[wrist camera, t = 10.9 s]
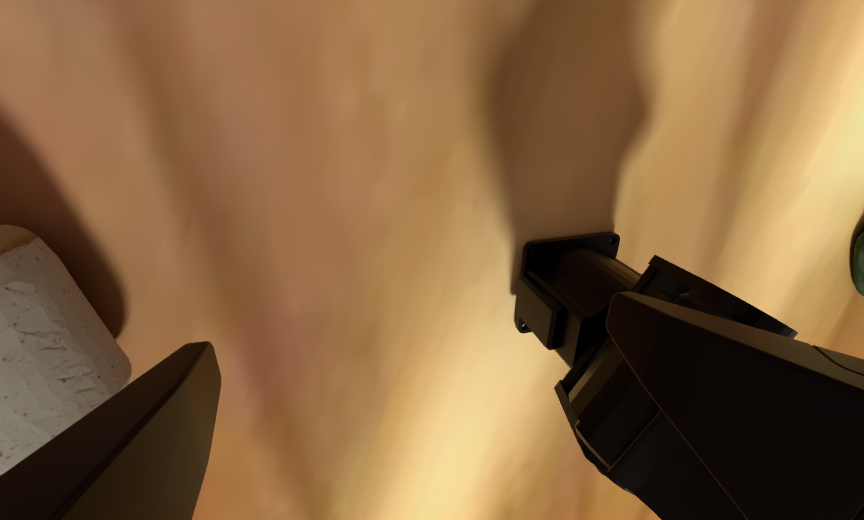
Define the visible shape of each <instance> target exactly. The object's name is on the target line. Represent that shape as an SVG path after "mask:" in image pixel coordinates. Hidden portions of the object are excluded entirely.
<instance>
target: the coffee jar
mask: <svg viewBox="0 0 864 520" xmlns="http://www.w3.org/2000/svg"><path fill="white" fill-rule="evenodd" d="M853 277H854V283H855V287H856V289H857V291H858V292H859V293H860V294H861V295H862V296H864V232H863V233H862V234H861V235H860V236H859V238H858V239H857V242H856V244H855V250H854V261H853Z"/></svg>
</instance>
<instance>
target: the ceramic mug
mask: <svg viewBox="0 0 864 520" xmlns="http://www.w3.org/2000/svg"><path fill="white" fill-rule="evenodd" d="M131 372H132V369H131V363H130V361H129V359H128V357H127V356H126V354H125V353H124V352H123V350H122V349H121V348H120V346H119V345H118V344H117V342H116V341H115V339H114V338H113V336H112V335H111V333H110V332H109V330H108V329H107V327H106V326H105V325H104V323H103V322H102V320H101V319H100V317H99V316H98V315H97V313H96V312H95V310H94V309H93V307H92V306H91V304H90V303H89V302H88V300H87V299H86V297H85V296H84V295H83V293H82V292H81V290H80V289H79V288H78V286H77V285H76V283H75V281H74V280H73V278H72V277H71V275H70V274H69V272H68V270H67V269H66V267H65V266H64V264H63V263H62V262H61V260H60V259H59V257H58V256H57V255H56V254H55V253H54V252H53V251H52V250H51V249H50V248H49V247H48V246H47V245H46V244H45V243H44V242H43V241H42V240H41V239H40V238H39V237H38V236H37V235H35V234H34V233H33V232H31V231H30V230H27V229H25V228H22V227H19V226H13V225H7V224H5V225H0V476H1V475H2V474H3V473H5V472H6V471H8V470H9V469H10V468H12V467H13V466H15V465H16V464H17V463H19V462H20V461H22V460H23V459H25V458H26V457H27V456H29V455H30V454H32V453H33V452H34V451H36V450H37V449H39V448H40V447H41V446H43V445H44V444H46V443H47V442H48V441H50V440H51V439H53V438H54V437H56V436H57V435H58V434H60V433H61V432H63V431H64V430H65V429H67V428H68V427H70V426H71V425H72V424H74V423H75V422H77V421H78V420H79V419H81V418H82V417H84V416H85V415H87V414H88V413H89V412H91V411H92V410H94V409H95V408H96V407H98V406H99V405H101V404H102V403H103V402H105V401H106V400H108V399H109V398H110V397H112V396H113V395H115V394H116V393H118V392H119V391H120V390H122V389H123V388H125V387H126V386H127V384H128V382H129V380H130V377H131Z"/></svg>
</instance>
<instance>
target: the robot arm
mask: <svg viewBox="0 0 864 520" xmlns="http://www.w3.org/2000/svg"><path fill="white" fill-rule="evenodd" d="M611 239H612V241H611V242H610V240H611ZM619 242H620V237H619V235H617V234H616V233H614V232H604V233H595V234H587V235H578V236H569V237H561V238H552V239H544V240H535V241H530V242H528V243H527V244H526V245H525V246H524V250H523V259H522V268H521V275H520V277H519V279H518V287H517V297H516V306H515V311H516V313H517V315H516V324H515V325H516V328H517V329H518V331H519V332H520V333H528V332H533V333H534V334H535V335H536V337H537V338H538V339H539V340H540V341H541V343H542V344H543V345H544V346H545V347H546V348H547V349H548V350H555V351H556V352H557V353H558V354H559V356H560V357H561V358H562V359H563V360H564V361H565V363H566V364H567V365H568V366H569V367H570V368H571V369H570V370H569V372H568V373H567V374H566V376H565V377H564V378H563V380H559V382H558V383H557V384H556V386H555V387H554V389H555V391H556V394H557V396H558V398H559V401H560V403H561V405H562V407H563V410H564V412H565V414H566V416H567V419H568V421H569V423H570V426H571V428H572V430H573V432H574V435H575V437H576V439H577V441H578V443H579V445H580V447H581V449H582V451H583V454H584V456H585V457H586V458H587V459H588V460H589V461H590V462H591V463H593V464H594V465H595V466H596V468H597V470H598V471H599V472H600V473H601V474H603V475H605V476H606V477H608V478H609V479H610V480H611V481H612V482H614V483H615V484H616V485H618V486H619V487H621V488H622V489H624V490H625V491H627V492H629V493H631V494H633V495H636V496H637V497H638V498H639V499H640V500H641V501H642V502H643V503H645V504H646V505H647V506H648V507H649V508H650V509H651V510H652V511H653V512H654V513H655V514H656V515H657V516H658V517H659V518H660V519H661V520H864V360H863V359H860V358H856V357H853V356H849V355H846V354H842V353H839V352H835V351H832V350H829V349H825V348H822V347H818V346H815V345H813V346H811V345H810V344H808V343H805V342H801V341H798V340H794V339H793V338H794V337H795V336H796V335H797V334H798V332H796V331H795V330H793V329H792V328H790V327H788V326H787V325H785V324H783V323H782V322H780V321H778V320H777V319H775V318H773V317H771V316H770V315H768V314H766V313H764V312H763V311H761V310H759V309H757V308H756V307H754V306H752V305H750V304H749V303H747V302H745V301H743V300H741V299H740V298H738V297H736V296H734V295H732V294H730V293H729V292H727V291H725V290H723V289H721V288H719V287H717V286H716V285H714V284H712V283H710V282H708V281H706V280H704V279H702V278H700V277H698V276H696V275H694V274H692V273H690V272H688V271H686V270H684V269H682V268H680V267H678V266H676V265H674V264H672V263H670V262H668V261H666V260H664V259H662V258H660V257H658V256H656V255H654V256H653V258H652V259H651V260H650V262H649V263H648V264H650V265H649V266H648V268H647V269H646V270H645V272H644V273H643V274H640V273H638V272H637V271H635V270H633V269H632V268H630V267H629V266H627V265H625V264H624V263H622V262H621V261H619V260H617V259H616V255H617V251H618V246H619ZM534 247H535V249H534V251H533V252H530V251H531V249H532V248H534ZM524 324H525V325H524ZM523 325H524V326H523ZM522 326H523V327H522ZM220 389H221V374H220V370H219V366H218V363H217V359H216V355H215V351H214V347H213V345H212V344H211V343H210V342H209V341H204V342H195V343H188V344H185V345H184V346H182V347H181V348H179V349H178V350H177V351H175V352H174V353H172V354H171V355H170V356H168V357H167V358H165V359H164V360H163V361H161V362H160V363H158V364H157V365H156V366H154V367H153V368H151V369H150V370H148V371H147V372H146V373H144V374H143V375H141V376H140V377H139V378H137V379H136V380H134V381H133V382H132V383H130V384H129V385H127V386H126V387H125V388H123V389H122V390H120V391H119V392H118V393H116V394H115V395H113V396H112V397H110V398H109V399H108V400H106V401H105V402H103V403H102V404H101V405H99V406H98V407H96V408H95V409H94V410H92V411H91V412H89V413H88V414H87V415H85V416H84V417H82V418H81V419H79V420H78V421H77V422H75V423H74V424H72V425H71V426H70V427H68V428H67V429H65V430H64V431H63V432H61V433H60V434H58V435H57V436H56V437H54V438H53V439H51V440H50V441H48V442H47V443H46V444H44V445H43V446H41V447H40V448H39V449H37V450H36V451H34V452H33V453H32V454H30V455H29V456H27V457H26V458H25V459H23V460H22V461H20V462H19V463H17V464H16V465H15V466H13V467H12V468H10V469H9V470H8V471H6V472H5V473H3V474H2V475H1V476H0V520H192V517H193V514H194V510H195V507H196V503H197V500H198V496H199V493H200V489H201V486H202V483H203V479H204V476H205V472H206V468H207V464H208V460H209V455H210V450H211V444H212V438H213V432H214V426H215V420H216V414H217V408H218V401H219V395H220Z"/></svg>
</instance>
